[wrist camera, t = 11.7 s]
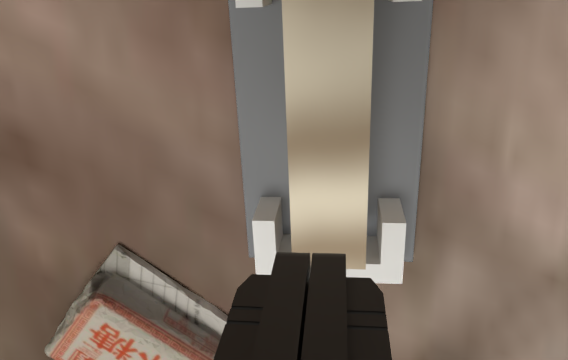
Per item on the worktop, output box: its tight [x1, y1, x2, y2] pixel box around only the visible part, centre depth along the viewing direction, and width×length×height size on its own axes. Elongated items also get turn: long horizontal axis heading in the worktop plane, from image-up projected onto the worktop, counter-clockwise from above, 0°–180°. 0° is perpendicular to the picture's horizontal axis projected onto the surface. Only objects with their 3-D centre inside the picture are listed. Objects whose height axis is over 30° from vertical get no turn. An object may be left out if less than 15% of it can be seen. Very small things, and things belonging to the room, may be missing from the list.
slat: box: [282, 0, 374, 270], centre depth 23 cm, size 14×4×5 cm, turn 3°
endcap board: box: [228, 0, 433, 284], centre depth 24 cm, size 19×10×4 cm, turn 3°
